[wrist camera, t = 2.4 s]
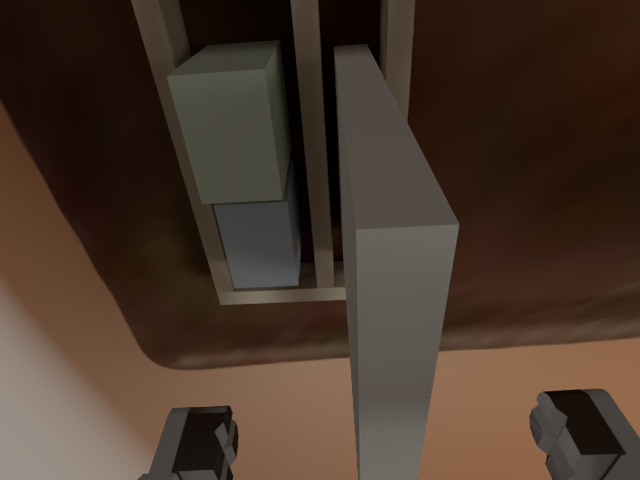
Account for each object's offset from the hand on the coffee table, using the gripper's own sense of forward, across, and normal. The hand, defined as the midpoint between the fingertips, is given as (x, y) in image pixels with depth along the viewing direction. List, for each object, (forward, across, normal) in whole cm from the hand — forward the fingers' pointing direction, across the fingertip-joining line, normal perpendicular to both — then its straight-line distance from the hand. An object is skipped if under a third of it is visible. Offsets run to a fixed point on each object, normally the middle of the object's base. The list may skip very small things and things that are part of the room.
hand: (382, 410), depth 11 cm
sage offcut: (+18, +5, -4) cm, 19 cm away
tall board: (+18, 0, 0) cm, 18 cm away
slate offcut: (+18, +5, +3) cm, 19 cm away
